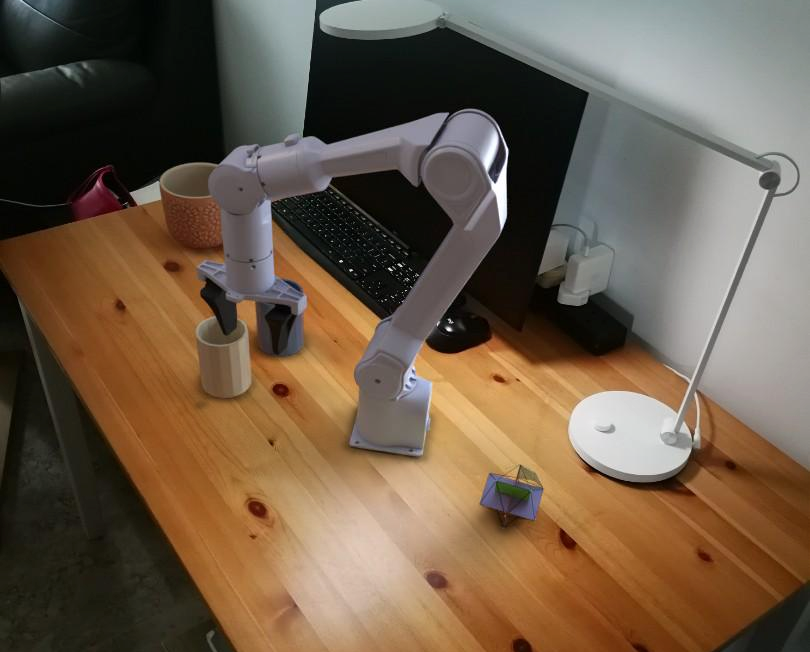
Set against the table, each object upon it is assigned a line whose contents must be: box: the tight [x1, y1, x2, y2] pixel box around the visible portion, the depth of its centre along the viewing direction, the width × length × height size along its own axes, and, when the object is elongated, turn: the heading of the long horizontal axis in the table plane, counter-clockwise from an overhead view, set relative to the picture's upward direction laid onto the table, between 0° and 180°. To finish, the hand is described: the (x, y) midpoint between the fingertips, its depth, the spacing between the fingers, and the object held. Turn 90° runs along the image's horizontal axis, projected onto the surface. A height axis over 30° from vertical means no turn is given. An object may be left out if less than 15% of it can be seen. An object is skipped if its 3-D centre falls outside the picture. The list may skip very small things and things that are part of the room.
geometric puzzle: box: [478, 463, 545, 529], centre depth 100 cm, size 7×7×8 cm
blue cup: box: [254, 278, 305, 358], centre depth 122 cm, size 7×7×9 cm
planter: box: [158, 162, 223, 250], centre depth 141 cm, size 12×12×11 cm
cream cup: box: [194, 315, 252, 399], centre depth 114 cm, size 7×7×9 cm
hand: (254, 340), depth 108 cm, fingers open, 7 cm apart
